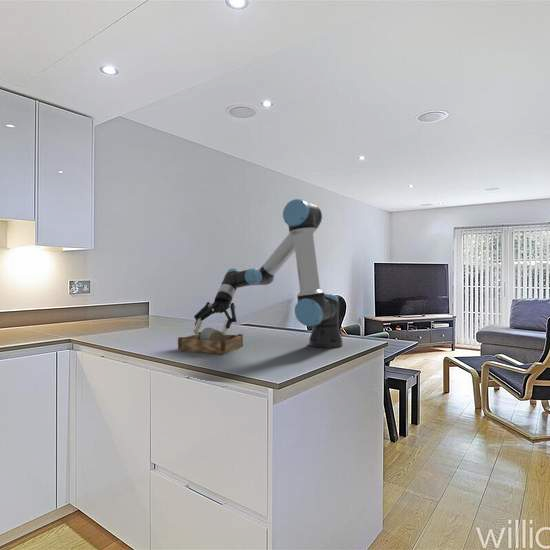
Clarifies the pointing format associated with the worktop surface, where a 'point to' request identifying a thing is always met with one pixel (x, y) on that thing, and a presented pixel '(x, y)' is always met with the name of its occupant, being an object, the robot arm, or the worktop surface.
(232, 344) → the crate
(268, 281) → the robot arm
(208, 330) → the ceramic mug
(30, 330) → the worktop surface
